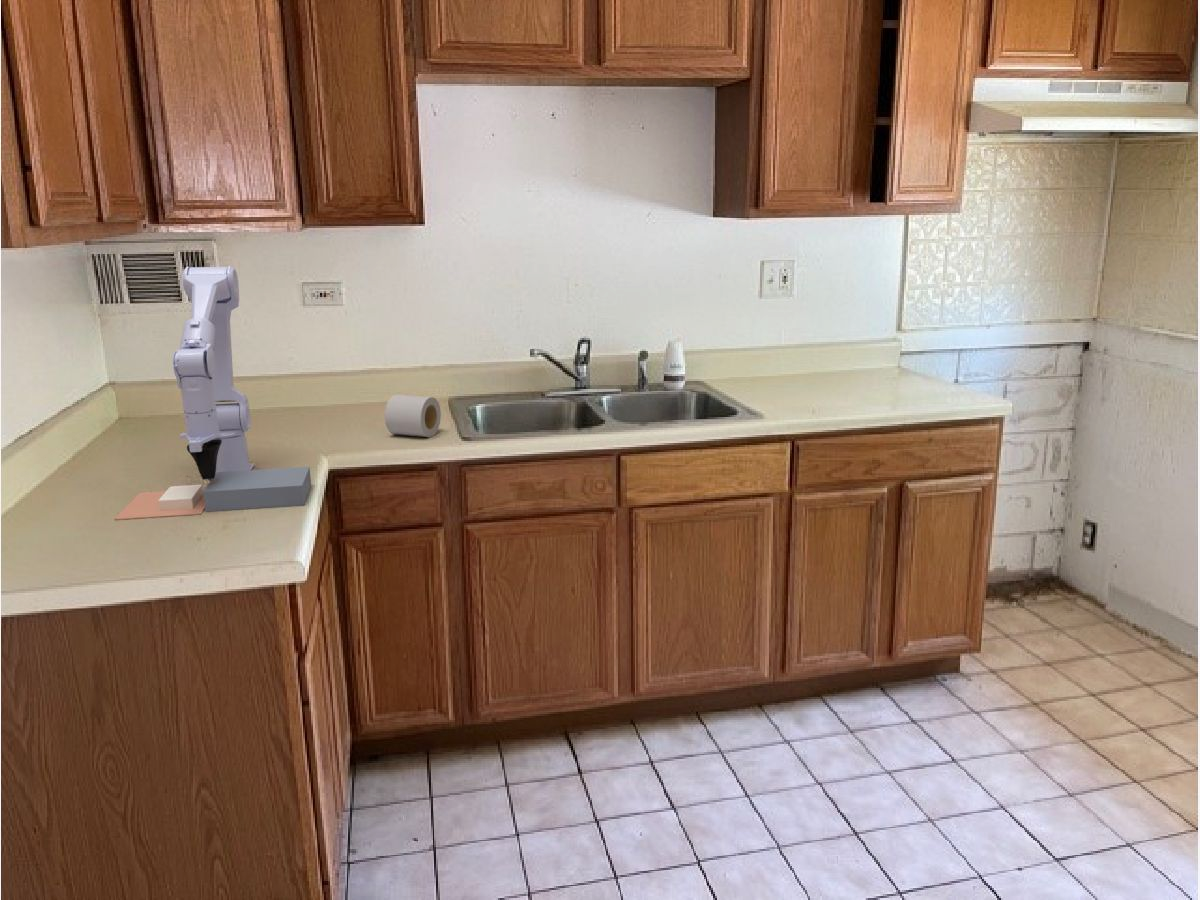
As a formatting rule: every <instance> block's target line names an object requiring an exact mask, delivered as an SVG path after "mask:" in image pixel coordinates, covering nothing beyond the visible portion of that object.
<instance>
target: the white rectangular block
mask: <svg viewBox="0 0 1200 900" xmlns="http://www.w3.org/2000/svg"><path fill="white" fill-rule="evenodd" d="M203 489H204V487H203V484H191V485H190V484H189V485H188V484H187V485H174V486H173V485H172V486H169V487H168V489H167V490H165V491H166V492H165V493H164V494H163V495H162V497H161V498H160V499H159V500H158V504H159V511H163V510H178V509H193V508H194V506H195V505H196V504H197V502H198V501H199V499H200V498H201V497H202V495H203Z"/></svg>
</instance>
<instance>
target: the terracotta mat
mask: <svg viewBox="0 0 1200 900" xmlns="http://www.w3.org/2000/svg"><path fill="white" fill-rule="evenodd" d="M204 490H205V488H203V491H204ZM166 491H167V490H161V491H147V492H146V491H143V492H139V493H138V494H137V495H135V497H134V498H133V500H131V502H130V503H128V505H126V507H125V508H124V509H122V511H121V512H119V514H118V515H117V516H116V517H115V519H114V521H120V520H121V521H122V520H123V521H124V520H135V519H136V520H137V519H152V518H166V517H169V518H170V517H181V516H182V517H183V516H196V515H202V514H203V512H204V511H205V504H204V496H203V495H202V497H201V498H200V499H199V501H198V502H197V504H196V505H195V506H194V508H193V509H178V510H163V511H159V504H158V500H159V499H160V498H161V497H162V495H163V494H164V493H165V492H166Z"/></svg>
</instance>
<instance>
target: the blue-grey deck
mask: <svg viewBox="0 0 1200 900" xmlns="http://www.w3.org/2000/svg"><path fill="white" fill-rule="evenodd" d="M310 468H311V467H310V466H299V467H298V466H297V467H281V468H278V467H277V468H267V469H266V468H264V469H263V468H262V469H252V470H244V471H227V472H217V473H216V474H215V477H214V479H210V481H209V483H208V484H207V485H206V487H205V488H204V489H205V490H204V491H203V496H204V504H205V509H204V511H205V512H206V513H207V512H218V511H219V512H220V511H235V510H251V509H264V508H280V507H294V506H295V507H296V506H305V503H306V500H307V498H308V495H309V493H310V490H311V488H312V479H311V478H312V477H311V476H312V475H311V469H310Z"/></svg>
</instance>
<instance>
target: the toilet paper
mask: <svg viewBox="0 0 1200 900" xmlns="http://www.w3.org/2000/svg"><path fill="white" fill-rule="evenodd" d="M441 415H442V413H441V407H440V404H439V401H438V400H437V399H436V397H434V396H433V397H432V396H424V395H423V396H420V395H406V394H394V395H392V396H390V397H389V399H388V401H387V403H386V406H385V410H384V421H385V422H384V423H385V426H386V428H387V429H386V430H388V432H389V433H390V434H392V435H400V436H411V437H413V436H414V437H424V438H432V437H434V436H433V435H436V434H437V432H438V430H439V428H440V424H441ZM431 436H432V437H431Z"/></svg>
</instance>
